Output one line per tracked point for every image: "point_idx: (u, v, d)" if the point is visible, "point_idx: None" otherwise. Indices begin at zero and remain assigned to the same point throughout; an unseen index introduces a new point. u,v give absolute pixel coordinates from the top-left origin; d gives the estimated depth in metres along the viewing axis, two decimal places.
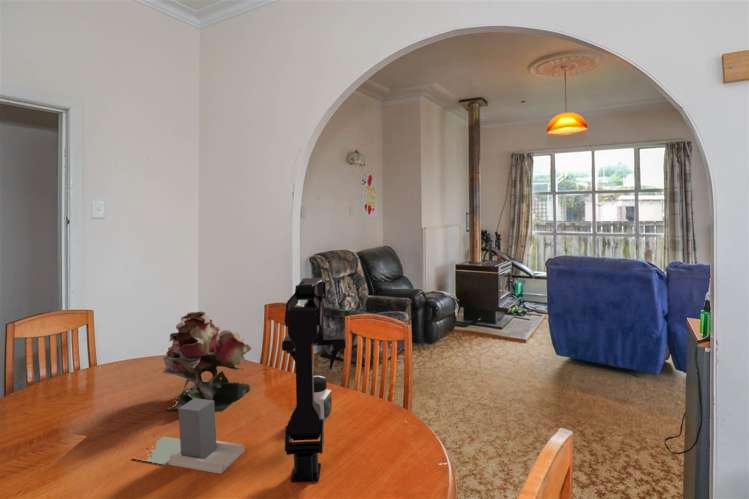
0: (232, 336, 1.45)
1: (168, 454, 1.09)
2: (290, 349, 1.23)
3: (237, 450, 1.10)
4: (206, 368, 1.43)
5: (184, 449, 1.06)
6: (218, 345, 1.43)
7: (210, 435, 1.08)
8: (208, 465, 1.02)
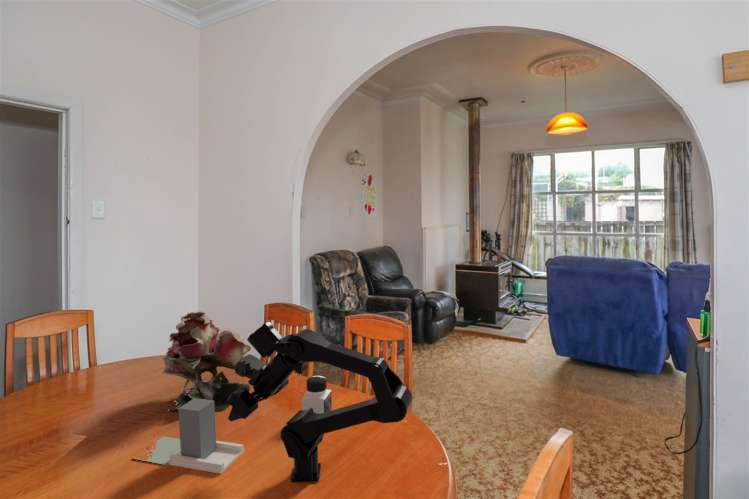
0: (232, 336, 1.45)
1: (168, 454, 1.09)
2: (251, 413, 0.96)
3: (237, 450, 1.10)
4: (206, 368, 1.43)
5: (184, 449, 1.06)
6: (218, 345, 1.43)
7: (210, 435, 1.08)
8: (208, 465, 1.02)
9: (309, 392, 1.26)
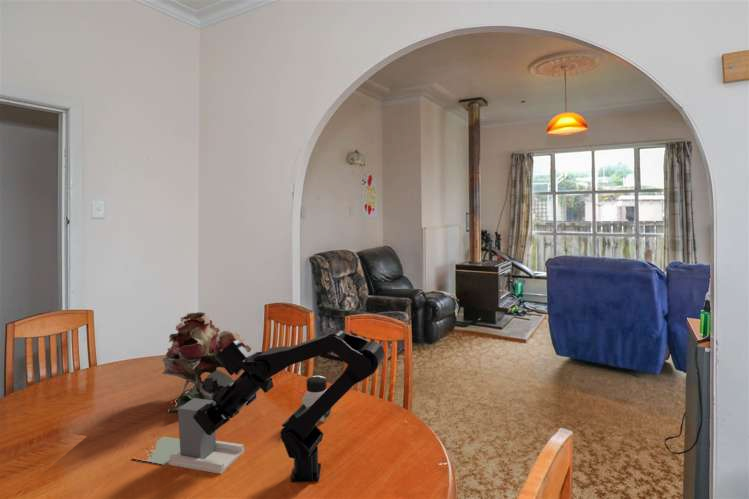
0: (232, 337, 1.45)
1: (168, 454, 1.09)
2: (216, 430, 0.98)
3: (237, 450, 1.10)
4: (206, 369, 1.42)
5: (184, 449, 1.06)
6: (218, 346, 1.42)
7: (209, 435, 1.08)
8: (208, 465, 1.02)
9: (309, 392, 1.26)
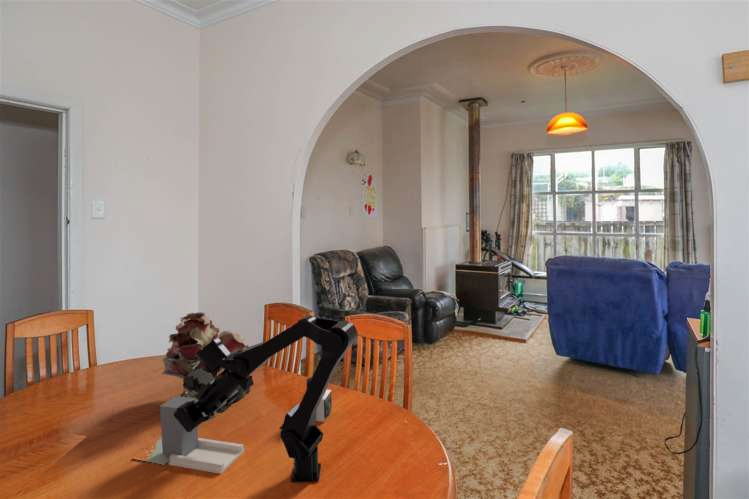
0: (232, 337, 1.44)
1: None
2: (196, 427, 1.00)
3: (237, 450, 1.10)
4: (206, 369, 1.42)
5: (166, 446, 1.07)
6: None
7: (191, 432, 1.10)
8: (208, 465, 1.02)
9: None
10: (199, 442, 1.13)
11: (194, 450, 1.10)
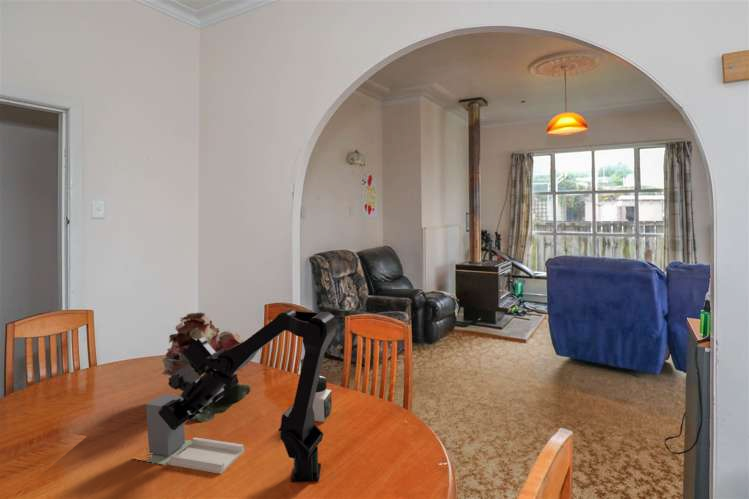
0: (232, 337, 1.44)
1: None
2: (181, 425, 1.01)
3: (237, 450, 1.10)
4: (206, 369, 1.42)
5: (152, 444, 1.09)
6: (218, 346, 1.42)
7: (178, 430, 1.11)
8: (208, 465, 1.02)
9: None
10: (199, 442, 1.13)
11: (194, 450, 1.10)
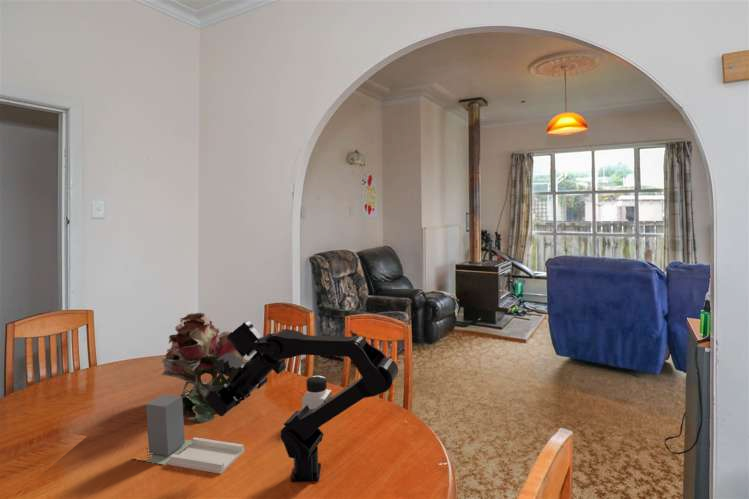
0: None
1: None
2: (228, 411, 0.97)
3: (237, 450, 1.10)
4: (206, 370, 1.41)
5: (152, 444, 1.09)
6: (218, 347, 1.41)
7: (178, 430, 1.11)
8: (208, 465, 1.02)
9: (309, 392, 1.26)
10: (199, 442, 1.13)
11: (194, 450, 1.10)
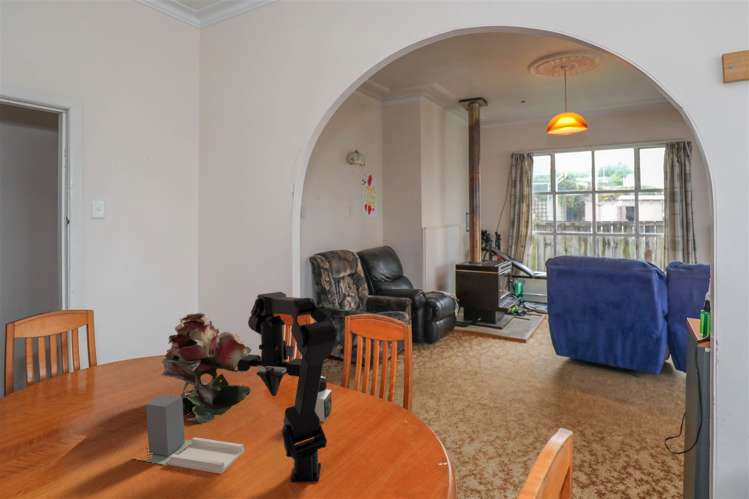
0: (232, 338, 1.43)
1: None
2: (244, 370, 1.12)
3: (237, 450, 1.10)
4: (206, 370, 1.41)
5: (152, 444, 1.09)
6: (218, 347, 1.41)
7: (178, 430, 1.11)
8: (208, 465, 1.02)
9: None
10: (199, 442, 1.13)
11: (194, 450, 1.10)
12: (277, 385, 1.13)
